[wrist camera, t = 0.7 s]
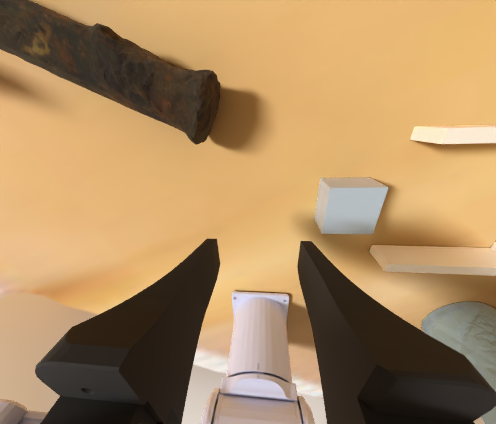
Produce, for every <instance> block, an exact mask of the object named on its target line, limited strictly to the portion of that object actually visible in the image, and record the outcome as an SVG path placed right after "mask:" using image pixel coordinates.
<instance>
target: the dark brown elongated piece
mask: <svg viewBox="0 0 496 424" xmlns="http://www.w3.org/2000/svg"><path fill="white" fill-rule="evenodd" d="M0 49H1V50H4V51H6V52H8V53H10V54H13V55H16V56H18V57H20V58H22V59H23V60H25V61H27V62H29V63H31V64H34V65H36V66H39V67H41V68H43V69H45V70H47V71H49V72H51V73H53V74H55V75H57V76H59V77H61V78H64V79H66V80H68V81H71V82H73V83H75V84H77V85H80V86H82V87H84V88H86V89H88V90H91V91H93V92H95V93H97V94H99V95H102V96H104V97H106V98H108V99H111V100H113V101H115V102H117V103H120V104H122V105H124V106H126V107H128V108H130V109H133V110H135V111H137V112H140V113H142V114H144V115H147V116H149V117H151V118H154V119H156V120H158V121H161V122H164V123H166V124H168V125H170V126H173V127H175V128H177V129H179V130H181V131H183V132H185V133H186V135H187V136H188V138H189V139H190V140H191V141H192V142H193V143H194V144H199V143H201V142H202V143H203V142H204V141H206V139H207V137H208V135H209V133H210V131H211V127H212V124H213V121H214V119H215V116H216V112H217V109H218V103H219V98H220V83H219V82H218V80H217V75H216V74H215V73H214V72H213V71H210V70H199V71H194V70H187V69H179V68H177V67H175V66H174V65H172V64H170V63H168V62H166V61H164V60H162V59H161V58H159V57H158V56H156V55H154V54H152V53H151V52H149V51H147V50H145V49H143V48H140V47H139V46H138V45H136V44H135V43H133V42H131V41H129V40H127V39H123V38H122V37H120V36H119V35H117V34H116V33H115V32H114V31H113V30H112V29H110V28H109V27H107V26H104V25H101V24H98V23H97V24H95V25H94V26H87V25H84V24H81V23H79V22H77V21H74V20H72V19H70V18H68V17H66V16H63V15H61V14H58V13H56V12H54V11H52V10H49V9H47V8H45V7H43V6H41V5H39V4H36V3H34V2H31V1H29V0H0Z"/></svg>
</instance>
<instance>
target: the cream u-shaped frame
mask: <svg viewBox="0 0 496 424" xmlns="http://www.w3.org/2000/svg"><path fill="white" fill-rule="evenodd" d="M410 140H416V141H423V142H430V143H437V144H472V143H496V124H486V125H450V126H415V127H414V130H413V133H412V136H411V138H410ZM369 252H370V253H371V255H372V256H373V257H374V258H375V260H376V261H377V262H378V263H379V265H380V266H381V267H382V269H383V270H384V271H385V272H408V273H435V274H462V275H489V276H496V241H495V243H494V244H493V245H492V247H491V248H475V247H436V246H396V245H372V246H371V249H370V251H369Z"/></svg>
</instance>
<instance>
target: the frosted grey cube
mask: <svg viewBox="0 0 496 424" xmlns="http://www.w3.org/2000/svg"><path fill="white" fill-rule="evenodd" d="M388 188H389V187H387V186H385V185H383V184H382V183H380V182H378V181H376V180H374V179H372V178H371V177H354V178H320V184H319V191H318V198H317V204H316V211H315V217H314V219H315V221H316V223H317V225H318V227H319V229H320V231H321V233H322V234H373V232H374V229H375V226H376V223H377V220H378V217H379V214H380V212H381V209H382V206H383V203H384V200H385V197H386V194H387V191H388Z"/></svg>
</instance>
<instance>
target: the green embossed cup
mask: <svg viewBox="0 0 496 424" xmlns="http://www.w3.org/2000/svg"><path fill="white" fill-rule="evenodd" d="M422 330H423V332H424V333H426V334H428V335H429V336H431V337H433V338H435V339H436V340H438V341H440V342H442V343H443V344H445V345H447V346H449V347H451V348H452V349H454V350H456V351H458V352H459V353H461V354H463V355H465V357H466V358H467V359H468V360H469V361H470V362H471V363H472V365H473V366H474V367H475V368H476V369H477V370H478V372H479V373H480V374H481V375H482V376H483V377H484V379H485V380H486V381H487V382H488V383H489V384H490V386H491V387H492V388H493V389H494V390H495V392H496V309H494V308H493V307H491V306H489V305H487V304H484V303H481V302H472V301H468V302H458V303H453V304H449V305H446V306H443V307H440V308H438V309H436V310H435V311H433V312H431V313H430V314H429V315H428V316H426V317H425V319H424V320H423V322H422ZM481 418H482V419H483V420H484V422H485V424H496V406H495V407H494V408H493V409H492V410H491V411H489V412H487V413H486V414H484V415H483V416H481Z"/></svg>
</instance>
